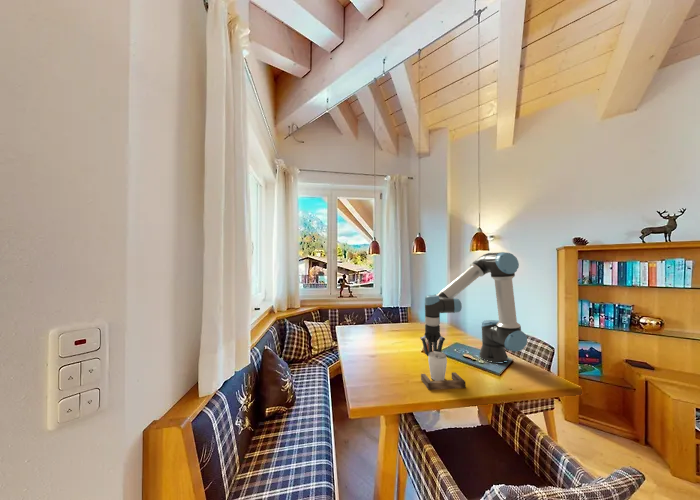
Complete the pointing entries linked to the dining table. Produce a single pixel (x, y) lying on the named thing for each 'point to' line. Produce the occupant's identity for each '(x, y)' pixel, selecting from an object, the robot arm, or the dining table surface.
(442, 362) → the cup
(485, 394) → the dining table surface
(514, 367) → the dining table surface
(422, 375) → the walnut pocket
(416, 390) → the dining table surface
